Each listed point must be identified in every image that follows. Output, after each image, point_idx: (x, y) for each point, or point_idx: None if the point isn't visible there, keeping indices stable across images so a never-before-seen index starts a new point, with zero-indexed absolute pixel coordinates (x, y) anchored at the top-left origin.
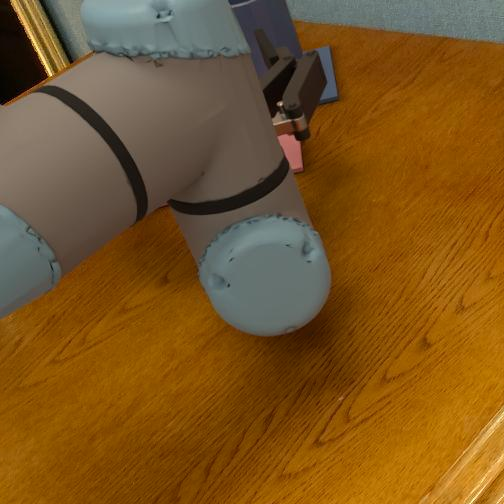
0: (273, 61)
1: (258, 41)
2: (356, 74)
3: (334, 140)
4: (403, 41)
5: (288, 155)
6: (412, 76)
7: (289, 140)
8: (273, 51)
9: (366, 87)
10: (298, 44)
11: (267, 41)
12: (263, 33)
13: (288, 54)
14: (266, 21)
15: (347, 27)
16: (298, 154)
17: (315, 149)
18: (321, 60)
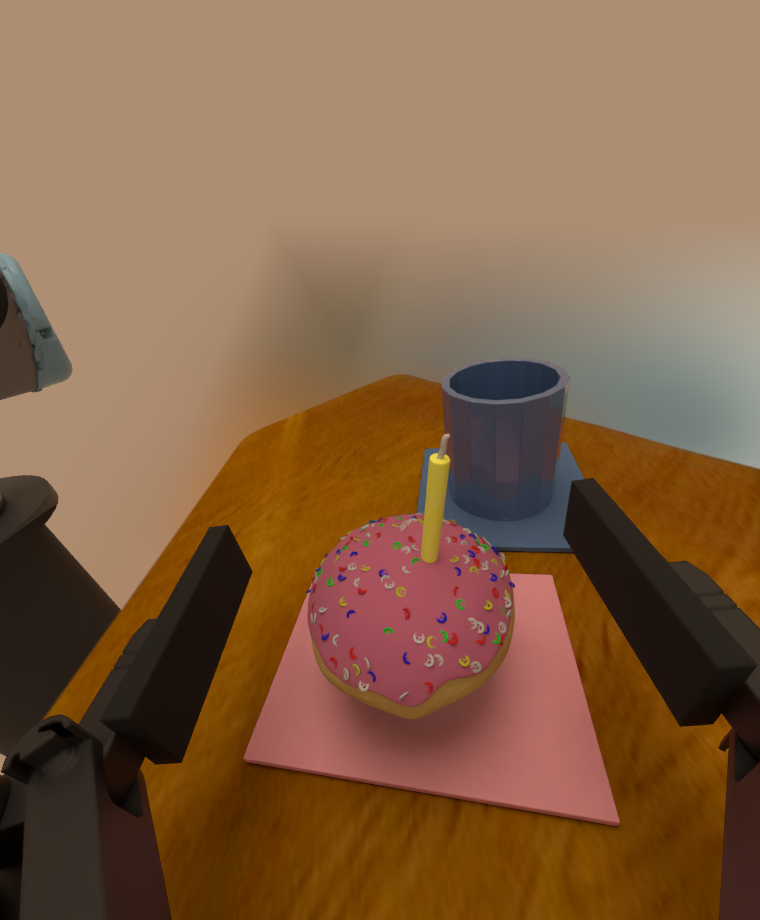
0: (727, 677)
1: (590, 516)
2: (626, 501)
3: (660, 697)
4: (679, 458)
5: (564, 726)
6: (753, 540)
7: (553, 655)
8: (709, 619)
9: (661, 538)
10: (559, 454)
11: (644, 543)
12: (607, 500)
13: (744, 625)
14: (539, 428)
15: (577, 420)
16: (590, 736)
17: (619, 713)
18: (562, 463)
